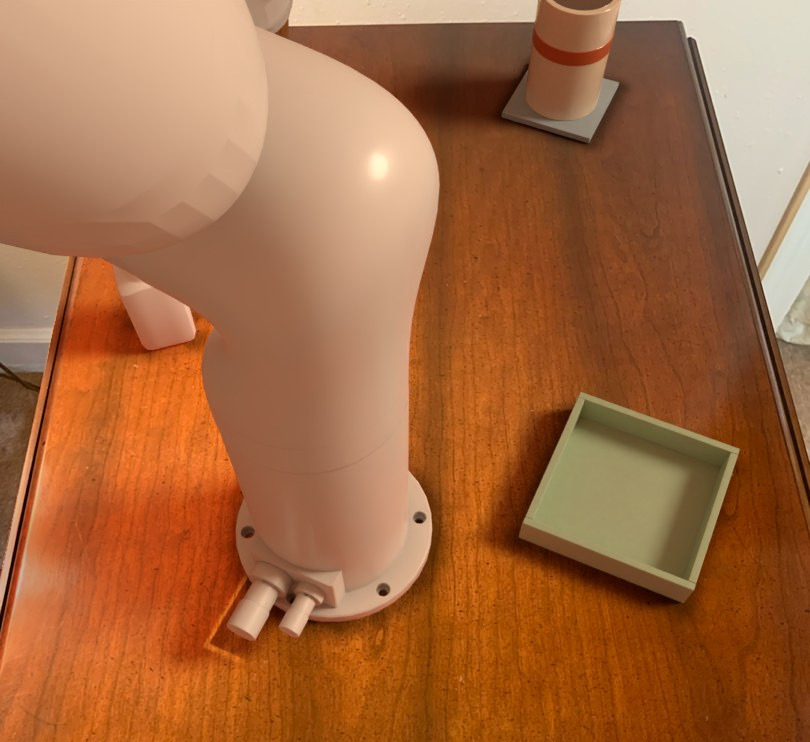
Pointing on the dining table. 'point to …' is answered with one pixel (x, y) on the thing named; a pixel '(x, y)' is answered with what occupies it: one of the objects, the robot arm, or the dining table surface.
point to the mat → (573, 129)
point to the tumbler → (569, 56)
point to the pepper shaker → (154, 313)
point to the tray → (631, 496)
